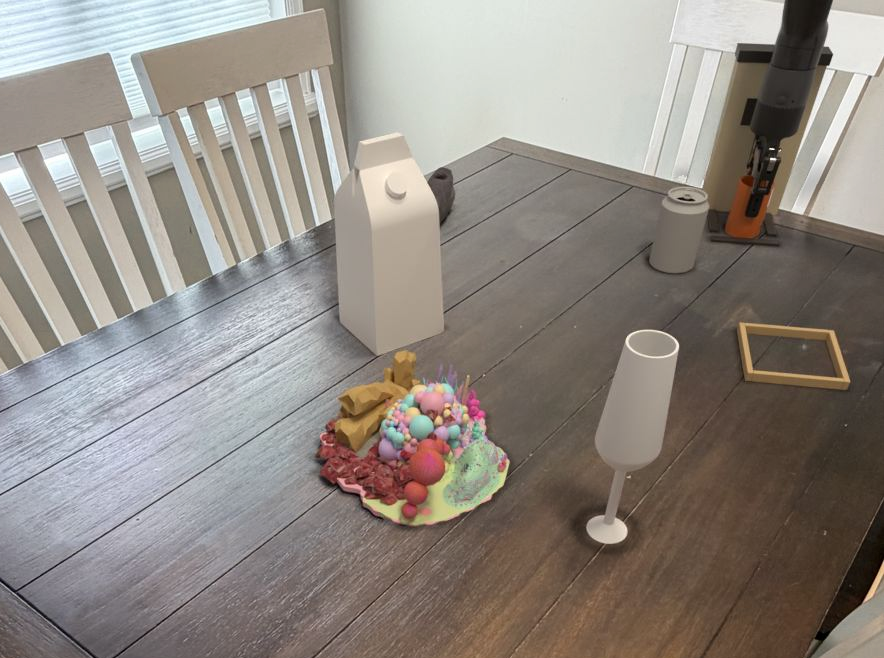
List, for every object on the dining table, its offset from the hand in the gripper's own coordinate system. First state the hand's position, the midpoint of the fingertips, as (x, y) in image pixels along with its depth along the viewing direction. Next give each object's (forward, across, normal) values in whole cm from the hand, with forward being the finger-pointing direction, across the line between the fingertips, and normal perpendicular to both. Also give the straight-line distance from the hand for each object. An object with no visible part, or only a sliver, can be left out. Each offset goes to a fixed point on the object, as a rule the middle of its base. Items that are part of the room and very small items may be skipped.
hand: (748, 208), depth 130 cm
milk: (+5, -42, +56) cm, 70 cm away
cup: (+5, 0, 0) cm, 5 cm away
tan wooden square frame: (+5, -42, -3) cm, 42 cm away
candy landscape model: (+5, -72, +46) cm, 86 cm away
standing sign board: (+5, +3, 0) cm, 6 cm away
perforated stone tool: (+5, -3, +56) cm, 56 cm away
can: (+5, -15, +13) cm, 20 cm away
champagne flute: (+5, -82, +22) cm, 85 cm away
